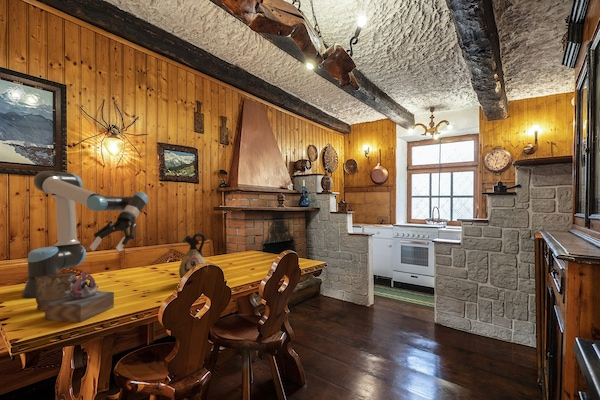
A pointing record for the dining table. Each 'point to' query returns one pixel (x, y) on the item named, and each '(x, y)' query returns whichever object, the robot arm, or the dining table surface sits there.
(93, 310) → the wooden block
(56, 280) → the mineral sample
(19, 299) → the dining table surface
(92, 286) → the brake caliper
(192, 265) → the ceramic jug
